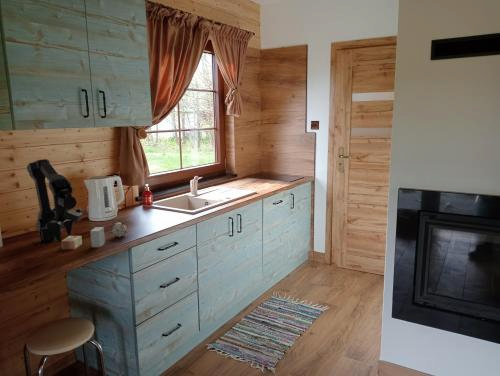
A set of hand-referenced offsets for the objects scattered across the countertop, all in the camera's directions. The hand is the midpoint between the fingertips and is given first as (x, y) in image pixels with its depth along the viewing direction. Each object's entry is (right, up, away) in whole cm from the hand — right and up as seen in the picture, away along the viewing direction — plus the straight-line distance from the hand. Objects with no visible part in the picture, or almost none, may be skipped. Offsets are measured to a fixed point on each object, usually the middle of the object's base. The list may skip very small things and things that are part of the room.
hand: (64, 238), depth 189 cm
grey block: (+12, -4, +8) cm, 16 cm away
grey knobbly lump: (+19, -2, +20) cm, 28 cm away
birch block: (0, -4, +3) cm, 5 cm away
